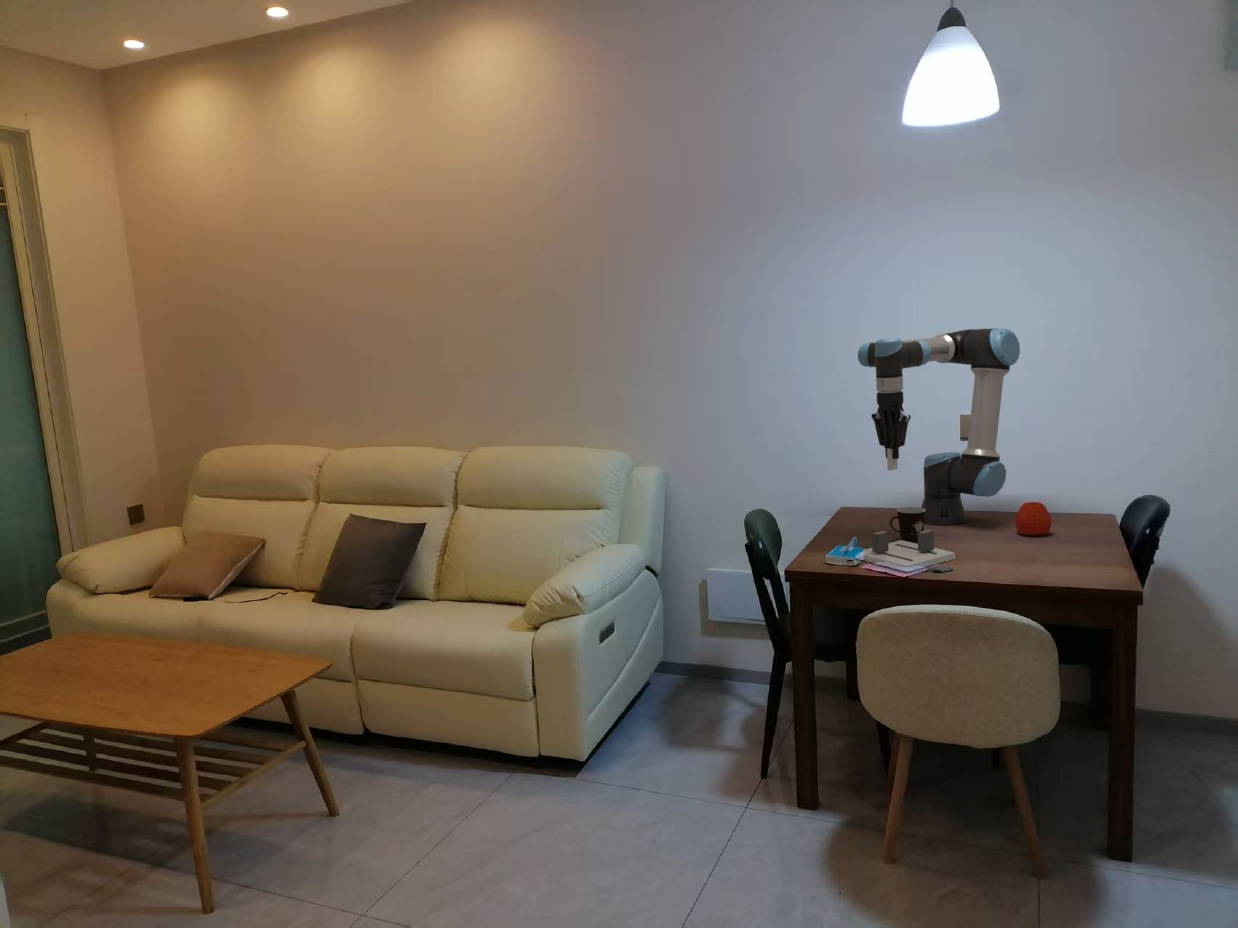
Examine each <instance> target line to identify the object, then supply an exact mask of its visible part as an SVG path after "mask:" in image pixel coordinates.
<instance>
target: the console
mask: <svg viewBox="0 0 1238 928" xmlns="http://www.w3.org/2000/svg"><path fill="white" fill-rule="evenodd" d="M863 550H864V551H865V555H864V557H865V559H866V560H868V561H874V562H889V563H892V564H896V565H898V566H901V567H912V566H914V565H916V564H920V563H932V564H937V565H939V564H938V563H940V564H942V563H941V562H944V561H947V562H949V560H951V561H953V560H952V559H954V560H956V552H955V551H949V550H945V549H941V548H938V547H934V550H931V551H927V552H922V551H918V543H911V542H907V541H902V540H901V539H899V540H897V541H892V542H888V551H886V552H882V553H875V552H872V547H870V548H867V549H863ZM944 563H945V562H944Z"/></svg>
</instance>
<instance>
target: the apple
mask: <svg viewBox="0 0 1238 928" xmlns="http://www.w3.org/2000/svg"><path fill="white" fill-rule="evenodd" d="M1014 520H1015V521H1014V524H1015V527H1016V530H1017V532H1018V533H1019V534H1021V535H1024V536H1044V535H1046V534H1047V533H1048V532H1050V529H1051V527H1052V518H1051V516H1050V513H1049V511H1048V509H1047V507H1046V506H1045V504H1044V503H1042V502H1038V501H1027V502H1025V503H1023V504H1022V505H1021V506H1020V507H1019V509H1018V510H1017V512H1016V514H1015V518H1014Z"/></svg>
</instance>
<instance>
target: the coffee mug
mask: <svg viewBox="0 0 1238 928" xmlns="http://www.w3.org/2000/svg"><path fill="white" fill-rule="evenodd" d="M925 513H926V510H925V509H923V508H921V507H919V506H918V507H916V506H907V507H905V506H904V507H898V508H897V509H896V514H897V516H892V517H891V518H890V520H889V527H890V528H891V529H892V530H893V531H895V532H896V533H898V534H899V536H900V537H899V538H900V540H902V541H907V542H911V543H915V544H918V532H921V531H925V530H924V529H925V523H924V522H925ZM894 519H897V520H898V527H899V528H898V529H899V530H898V529H896V528H895V527H894V525H893V523H892V522H893V520H894Z"/></svg>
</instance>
